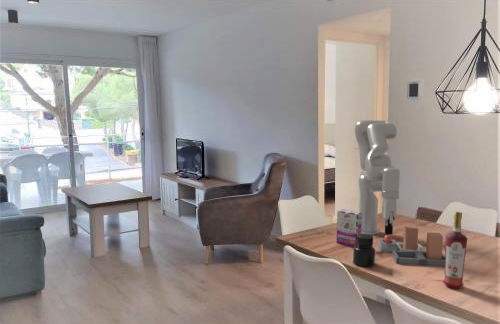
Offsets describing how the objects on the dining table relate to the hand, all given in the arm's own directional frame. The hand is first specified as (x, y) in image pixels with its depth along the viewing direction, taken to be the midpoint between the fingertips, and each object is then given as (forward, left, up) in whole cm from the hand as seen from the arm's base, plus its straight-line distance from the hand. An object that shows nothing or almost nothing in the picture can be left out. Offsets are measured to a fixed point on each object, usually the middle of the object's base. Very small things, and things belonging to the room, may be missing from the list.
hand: (388, 233), depth 196 cm
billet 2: (+16, -14, -8) cm, 23 cm away
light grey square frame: (+10, 0, -8) cm, 13 cm away
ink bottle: (-13, -19, -9) cm, 24 cm away
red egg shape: (0, 0, -6) cm, 6 cm away
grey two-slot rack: (+11, -14, -8) cm, 19 cm away
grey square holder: (0, 0, -8) cm, 8 cm away
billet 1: (+10, 0, -8) cm, 13 cm away
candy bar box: (-17, +7, -9) cm, 21 cm away
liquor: (+17, -38, -9) cm, 42 cm away
